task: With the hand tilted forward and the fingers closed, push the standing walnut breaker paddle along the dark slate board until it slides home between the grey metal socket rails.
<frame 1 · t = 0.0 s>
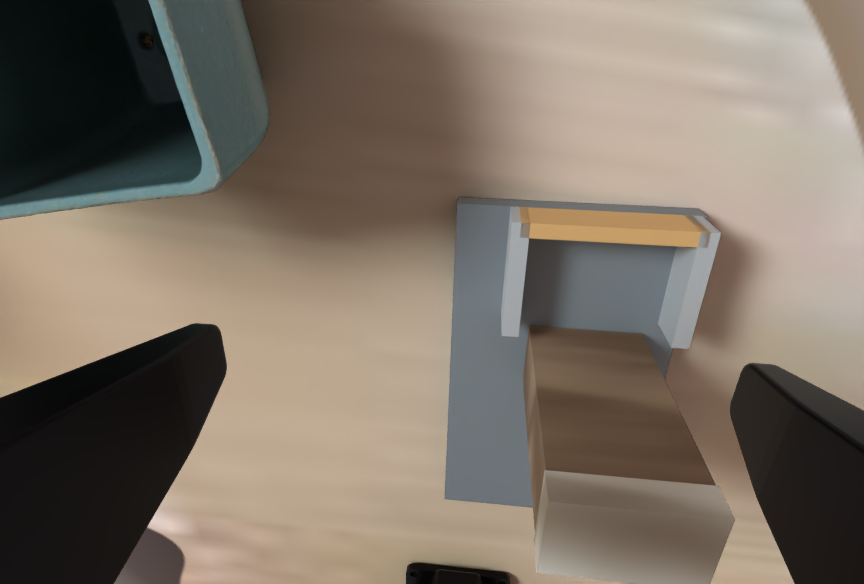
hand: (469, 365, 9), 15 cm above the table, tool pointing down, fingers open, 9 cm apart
flower pot: (192, 36, 21), on the table
slate board: (552, 369, 26), on the table
breaker paddle: (599, 431, 20), point 6 cm above the table, slide at 0.0 cm
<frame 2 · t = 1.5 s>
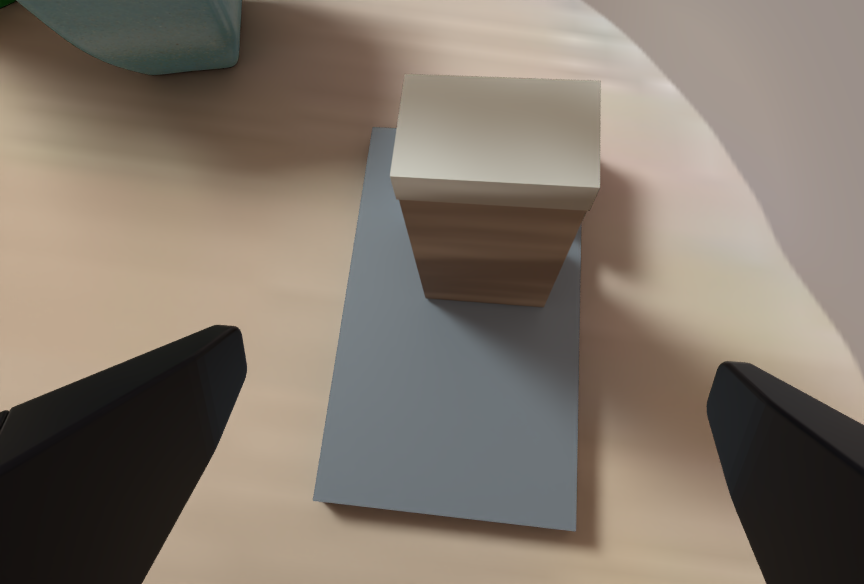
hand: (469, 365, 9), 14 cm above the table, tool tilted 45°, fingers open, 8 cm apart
flower pot: (199, 41, 30), on the table
slate board: (460, 308, 24), on the table
breaker paddle: (490, 217, 18), point 6 cm above the table, slide at 0.0 cm
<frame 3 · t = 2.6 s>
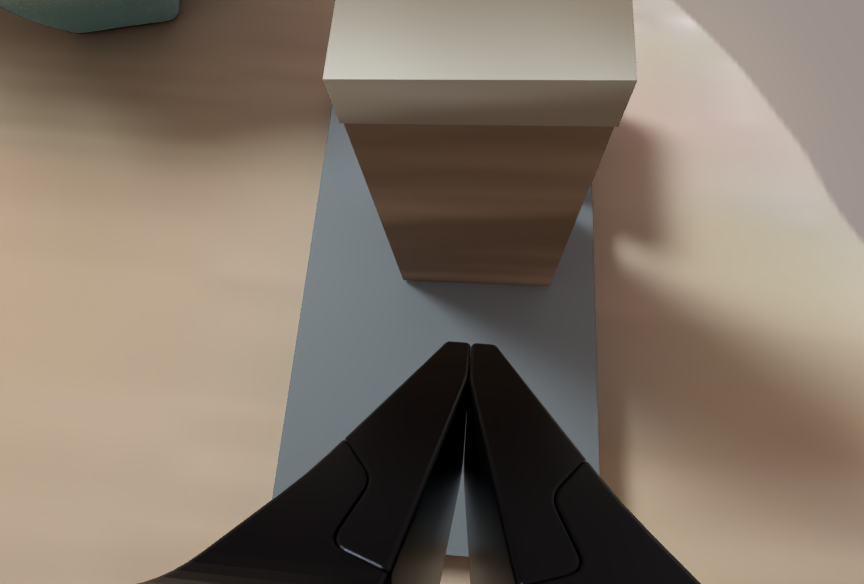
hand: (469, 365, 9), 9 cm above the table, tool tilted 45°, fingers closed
slate board: (448, 291, 19), on the table
breaker paddle: (478, 164, 14), point 6 cm above the table, slide at 0.0 cm
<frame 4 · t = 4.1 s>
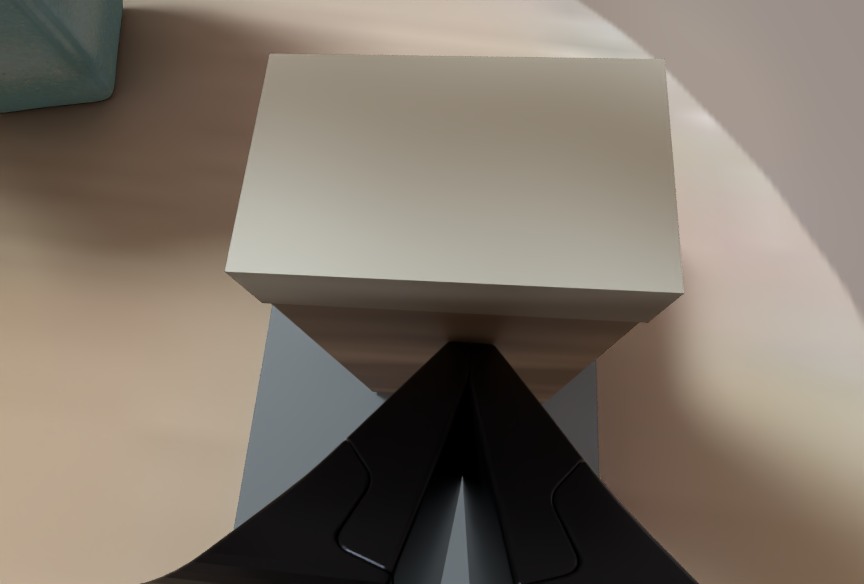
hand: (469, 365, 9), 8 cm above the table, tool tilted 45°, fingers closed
flower pot: (65, 64, 22), on the table
slate board: (421, 457, 16), on the table
breaker paddle: (458, 293, 11), point 6 cm above the table, slide at 1.7 cm, touching gripper
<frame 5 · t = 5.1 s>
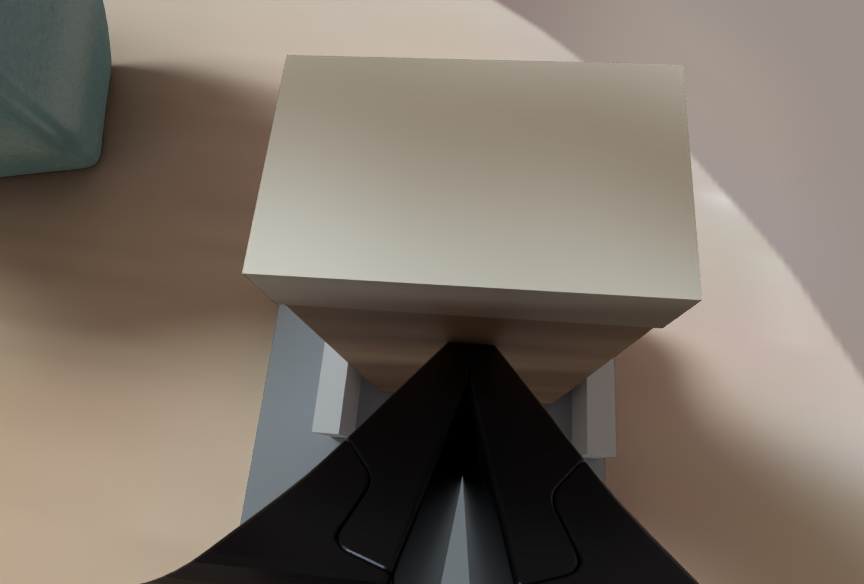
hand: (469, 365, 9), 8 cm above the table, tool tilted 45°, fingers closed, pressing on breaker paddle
flower pot: (50, 125, 21), on the table
slate board: (418, 574, 15), on the table
breaker paddle: (468, 295, 11), point 6 cm above the table, slide at 4.9 cm, touching gripper
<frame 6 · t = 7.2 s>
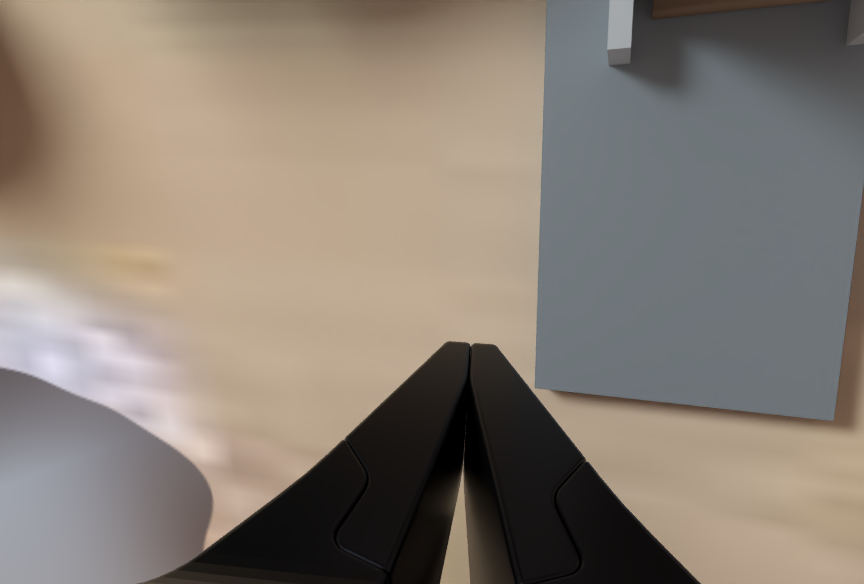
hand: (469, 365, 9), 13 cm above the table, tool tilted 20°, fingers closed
slate board: (686, 168, 19), on the table
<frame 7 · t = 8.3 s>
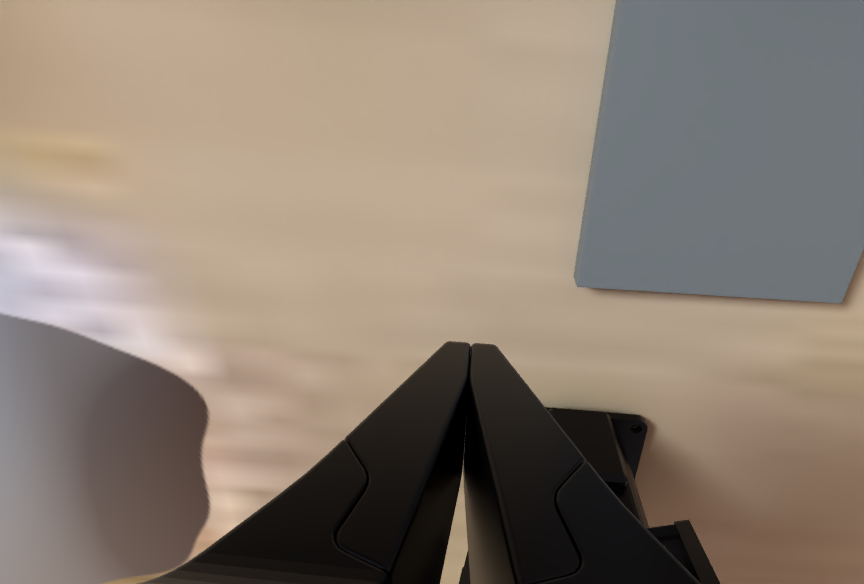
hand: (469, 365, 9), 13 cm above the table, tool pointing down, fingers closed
slate board: (759, 57, 18), on the table
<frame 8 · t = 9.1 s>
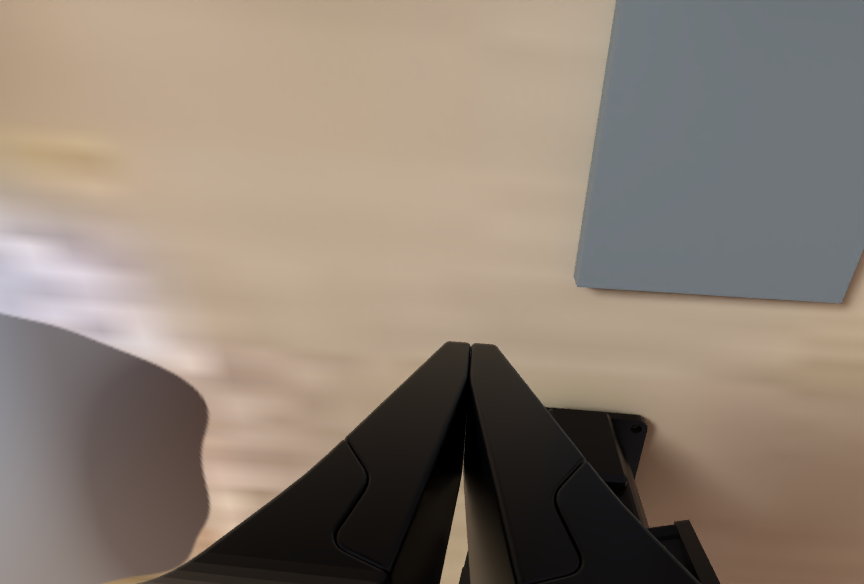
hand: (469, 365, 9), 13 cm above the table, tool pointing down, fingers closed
slate board: (759, 57, 18), on the table
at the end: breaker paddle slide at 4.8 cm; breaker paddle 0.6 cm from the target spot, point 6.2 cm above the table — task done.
